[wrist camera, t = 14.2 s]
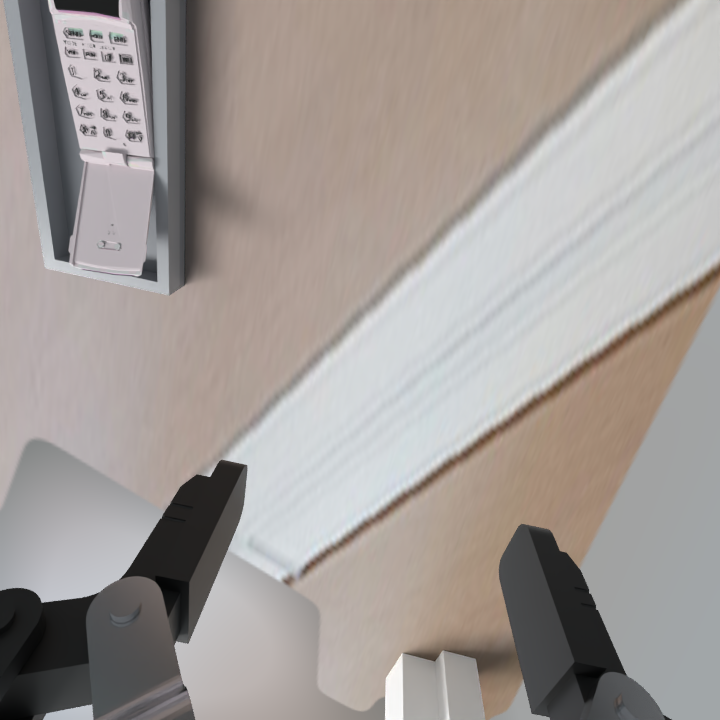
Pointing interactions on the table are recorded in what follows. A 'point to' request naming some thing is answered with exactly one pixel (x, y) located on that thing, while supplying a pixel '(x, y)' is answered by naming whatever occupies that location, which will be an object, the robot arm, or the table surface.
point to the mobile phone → (110, 128)
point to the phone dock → (61, 149)
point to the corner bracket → (434, 689)
